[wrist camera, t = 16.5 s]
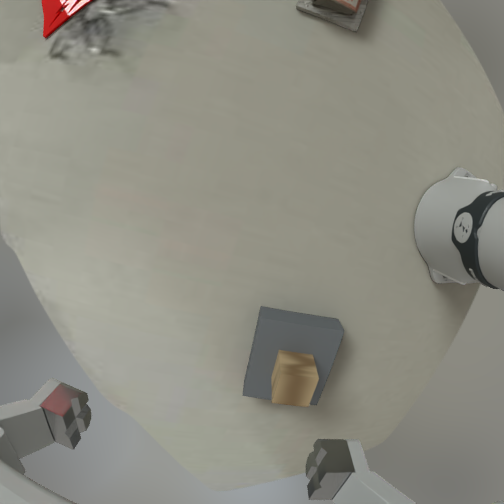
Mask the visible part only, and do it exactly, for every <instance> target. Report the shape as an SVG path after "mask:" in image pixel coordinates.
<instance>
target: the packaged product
mask: <svg viewBox="0 0 504 504" xmlns="http://www.w3.org/2000/svg"><path fill="white" fill-rule="evenodd" d="M367 2H368V0H299V1H298V2H297V4H296V9H298V10H300V11H303V12H306V13H309V14H312V15H314V16H317V17H320V18H322V19H325V20H327V21H330V22H332V23H334V24H337V25H339V26H342V27H344V28H346V29H349V30H352V31H355V32H356V31H357V30H358V27H359V25H360V22H361V20H362V17H363V14H364V11H365V8H366V5H367Z"/></svg>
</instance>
